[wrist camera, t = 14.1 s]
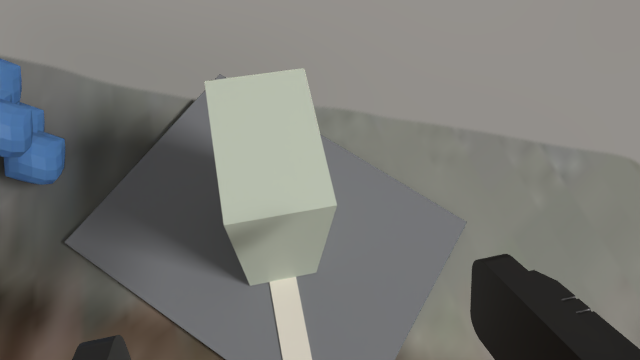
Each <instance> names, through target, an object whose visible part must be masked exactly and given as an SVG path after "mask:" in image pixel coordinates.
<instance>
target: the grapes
mask: <svg viewBox="0 0 640 360" xmlns="http://www.w3.org/2000/svg"><path fill="white" fill-rule="evenodd" d="M21 90H22V85H21V69H20V66H18V65H16V64H13V63H11V62H8V61H6V60H3V59H1V58H0V157H4V168H5V176H7V177H10V178H13V179H17V180H20V181H24V182H29V183H33V184H41V185H43V184H52V183H53V182H54V181H55V180H56V179H57V178H58V177H59V176H60V175H61V174H62V170H63V169H64V163H65V139H63V138H60V137H57V136H54V135H51V134H48V133H45V132H44V110H41V109H38V108H35V107H33V106H30V105H27V104H24V103H21V102H20V98H21Z"/></svg>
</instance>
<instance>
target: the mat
mask: <svg viewBox="0 0 640 360" xmlns="http://www.w3.org/2000/svg"><path fill="white" fill-rule="evenodd" d="M218 79H226V77H224V76H222V75H221V74H219V76H218V77H217V78H216V79H215V80H218ZM320 136H321V140H322V144H323V148H324V153H325V157H326V161H327V165H328V169H329V173H330V178H331V182H332V186H333V190H334V194H335V199H336V203H337V207H336V210H335V214H334V217H333V220H332V223H331V227H330V230H329V233H328V236H327V240H326V243H325V246H324V249H323V252H322V256H321V259H320V262H319V265H318V269H317V272H316V273H312V274H307V275H302V276H297V277H292V278H287V279H282V280H277V281H272V282H267V283H262V284H257V285H252V286H250V284H249V282H248V280H247V278H246V275H245V273H244V271H243V268H242V266H241V264H240V261H239V259H238V257H237V255H236V252H235V250H234V248H233V245H232V243H231V241H230V239H229V236H228V234H227V232H226V229H225V227H224V223H223V216H222V208H221V201H220V194H219V186H218V179H217V171H216V164H215V157H214V149H213V142H212V134H211V127H210V119H209V112H208V105H207V97H206V90H205V91H204V92H203V93H202V94H201V95H200V96H199V97H198V98H197V99H196V100H195V102H194V103H193V104H192V105H191V106H190V107H189V108H188V109H187V110H186V111H185V112H184V113H183V115H182V116H181V117H180V118H179V119H178V120H177V121H176V122H175V123H174V124H173V125H172V126H171V127H170V129H169V130H168V131H167V132H166V133H165V134H164V135H163V136H162V137H161V138H160V139H159V140H158V142H157V143H156V144H155V145H154V146H153V147H152V148H151V149H150V150H149V151H148V152H147V153H146V155H145V156H144V157H143V158H142V159H141V160H140V161H139V162H138V163H137V164H136V165H135V166H134V167H133V169H132V170H131V171H130V172H129V173H128V174H127V175H126V176H125V177H124V178H123V179H122V180H121V182H120V183H119V184H118V185H117V186H116V187H115V188H114V189H113V190H112V191H111V192H110V193H109V195H108V196H107V197H106V198H105V199H104V200H103V201H102V202H101V203H100V204H99V205H98V206H97V208H96V209H95V210H94V211H93V212H92V213H91V214H90V215H89V216H88V217H87V218H86V219H85V220H84V222H83V223H82V224H81V225H80V226H79V227H78V228H77V229H76V230H75V231H74V232H73V233H72V235H71V236H70V237H69V238H68V239H67V240H66V241H65V242H64V243H66V244H67V245H68V246H70V247H71V248H73V249H74V250H75V251H77V252H78V253H80V254H81V255H82V256H84V257H85V258H86V259H88V260H89V261H91V262H92V263H93V264H95V265H96V266H97V267H99V268H100V269H102V270H103V271H104V272H106V273H107V274H109V275H110V276H111V277H113V278H114V279H115V280H117V281H118V282H120V283H121V284H122V285H124V286H125V287H126V288H128V289H129V290H131V291H132V292H133V293H135V294H136V295H137V296H139V297H140V298H142V299H143V300H144V301H146V302H147V303H149V304H150V305H151V306H153V307H154V308H155V309H157V310H158V311H160V312H161V313H162V314H164V315H165V316H166V317H168V318H169V319H171V320H172V321H173V322H175V323H176V324H177V325H179V326H180V327H182V328H183V329H184V330H186V331H187V332H189V333H190V334H191V335H193V336H194V337H195V338H197V339H198V340H200V341H201V342H202V343H204V344H205V345H206V346H208V347H209V348H211V349H212V350H213V351H215V352H216V353H218V354H219V355H220V356H222V357H223V358H224V359H226V360H395V358H396V356H397V354H398V352H399V350H400V349H401V347H402V345H403V343H404V341H405V339H406V337H407V335H408V333H409V332H410V330H411V328H412V326H413V324H414V322H415V320H416V318H417V316H418V314H419V313H420V311H421V309H422V307H423V305H424V303H425V301H426V299H427V297H428V295H429V294H430V292H431V290H432V288H433V286H434V284H435V282H436V280H437V278H438V276H439V275H440V273H441V271H442V269H443V267H444V265H445V263H446V261H447V259H448V257H449V256H450V254H451V252H452V250H453V248H454V246H455V244H456V242H457V240H458V238H459V237H460V235H461V233H462V231H463V229H464V227H465V225H466V223H467V222H466V221H464V220H463V219H461V218H459V217H458V216H456V215H454V214H453V213H451V212H449V211H448V210H446V209H444V208H443V207H441V206H439V205H438V204H436V203H434V202H433V201H431V200H429V199H428V198H426V197H424V196H423V195H421V194H419V193H418V192H416V191H414V190H413V189H411V188H409V187H408V186H406V185H404V184H403V183H401V182H399V181H398V180H396V179H394V178H393V177H391V176H389V175H388V174H386V173H384V172H383V171H381V170H379V169H378V168H376V167H374V166H373V165H371V164H369V163H368V162H366V161H364V160H363V159H361V158H359V157H358V156H356V155H354V154H353V153H351V152H349V151H348V150H346V149H344V148H343V147H341V146H339V145H338V144H336V143H334V142H333V141H331V140H329V139H328V138H326V137H324V136H322V135H321V134H320Z"/></svg>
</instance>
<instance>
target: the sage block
mask: <svg viewBox="0 0 640 360" xmlns="http://www.w3.org/2000/svg"><path fill="white" fill-rule="evenodd" d="M204 82H205V90H206V97H207V105H208V112H209V119H210V127H211V134H212V142H213V149H214V157H215V164H216V171H217V179H218V186H219V194H220V201H221V208H222V216H223V223H224V227H225V229H226V232H227V234H228V236H229V239H230V241H231V243H232V245H233V248H234V250H235V252H236V255H237V257H238V259H239V261H240V264H241V266H242V268H243V271H244V273H245V275H246V278H247V280H248V282H249V284H250V286H252V285H257V284H262V283H267V282H272V281H277V280H282V279H287V278H292V277H297V276H302V275H307V274H312V273H316V272H317V269H318V265H319V262H320V259H321V256H322V252H323V249H324V246H325V243H326V240H327V236H328V233H329V230H330V227H331V223H332V220H333V217H334V214H335V210H336V207H337V203H336V199H335V194H334V190H333V186H332V182H331V178H330V173H329V169H328V165H327V161H326V157H325V153H324V148H323V144H322V140H321V136H320V132H319V128H318V123H317V119H316V115H315V111H314V107H313V103H312V98H311V95H310V90H309V86H308V82H307V78H306V73H305V69H304V68H303V69H294V70H287V71H279V72H272V73H264V74H257V75H249V76H241V77H234V78H226V79H218V80H211V81H204Z"/></svg>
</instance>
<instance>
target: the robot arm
mask: <svg viewBox="0 0 640 360" xmlns="http://www.w3.org/2000/svg"><path fill="white" fill-rule="evenodd" d="M470 312H471V320H472V324H473V327H474V330H475V332H476V334H477V336H478V338H479V339H480V341H481V342H482V343H483V345H484V346H485V347H486V348H487V350H488V351H489V352H490V354H491V355H492V356H493V358H494V359H495V360H640V349H639V348H638V347H636V346H635V345H634V344H633V343H632V342H630V341H629V340H628V339H627V338H626V337H624V336H623V335H622V334H621V333H619V332H618V331H617V330H616V329H615V328H613V327H612V326H611V325H610V324H609V323H607V322H606V321H605V320H604V319H603V318H601V317H600V316H599V315H598V314H597V313H595V312H594V311H593V312H591V310H590V308H589V307H588V306H587V305H586V304H584V303H583V302H582V301H581V300H580V299H576V298H575V295H574V294H572V293H571V292H570V291H569V290H568V289H566V288H565V287H564V286H563V285H562V284H560V283H559V282H558V281H556V280H554V279H552V278H550V277H548V276H546V275H544V274H541V273H539V272H537V271H535V270H532V271H528V270H527V269H526V268H524V267H523V266H522V265H521V264H520V263H519V262H518V261H516V260H515V259H514V258H513V257H512V256H510V255H508V254H502V255H497V256H493V257H488V258H483V259H478V260H476V261H474V263H473V266H472V283H471V310H470ZM72 360H131V358H130V355H129V352H128V350H127V347H126V344H125V341H124V339H123V338H122V336H120V335H116V336H111V337H107V338H102V339H97V340H93V341H88V342H83V343H81V344H80V345H79V346H78V348H77V350H76V352H75V354H74V357H73V359H72Z"/></svg>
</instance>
